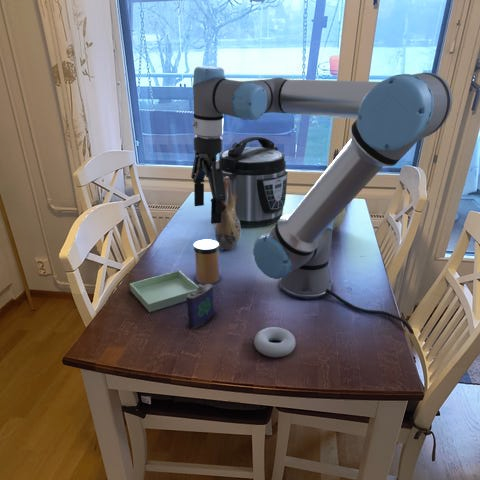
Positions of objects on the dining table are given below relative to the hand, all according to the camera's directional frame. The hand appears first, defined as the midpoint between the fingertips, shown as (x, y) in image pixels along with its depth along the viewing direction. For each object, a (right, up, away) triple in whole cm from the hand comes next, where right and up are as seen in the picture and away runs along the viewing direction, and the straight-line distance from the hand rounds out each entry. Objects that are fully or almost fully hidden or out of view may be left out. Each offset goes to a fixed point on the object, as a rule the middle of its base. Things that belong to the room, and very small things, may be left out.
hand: (207, 213), depth 122 cm
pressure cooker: (+15, +12, +56) cm, 60 cm away
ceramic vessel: (+5, -5, +30) cm, 31 cm away
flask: (-1, -31, -10) cm, 32 cm away
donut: (+18, -38, -20) cm, 46 cm away
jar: (-1, -18, +10) cm, 20 cm away
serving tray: (-12, -23, +2) cm, 26 cm away
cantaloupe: (+43, +5, +45) cm, 62 cm away
